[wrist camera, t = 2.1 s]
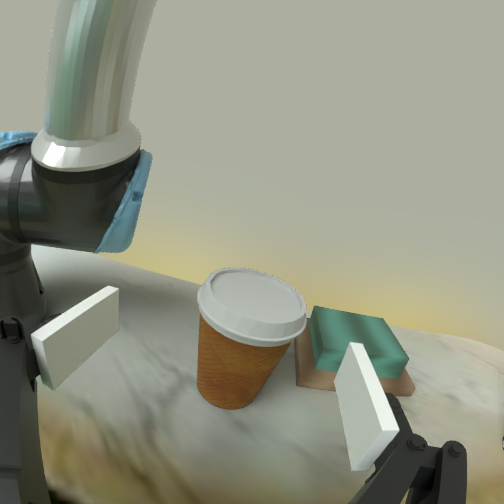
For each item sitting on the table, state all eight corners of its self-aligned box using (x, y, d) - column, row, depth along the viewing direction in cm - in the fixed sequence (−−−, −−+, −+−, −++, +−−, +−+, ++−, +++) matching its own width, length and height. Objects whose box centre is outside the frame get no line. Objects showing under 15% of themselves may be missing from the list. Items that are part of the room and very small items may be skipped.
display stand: (296, 385, 30) (308, 354, 29) (293, 323, 45) (301, 298, 44) (410, 396, 29) (426, 368, 28) (379, 338, 44) (389, 315, 43)
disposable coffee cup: (182, 420, 22) (203, 320, 18) (180, 352, 30) (198, 258, 26) (279, 421, 24) (330, 330, 20) (259, 359, 33) (291, 273, 29)
